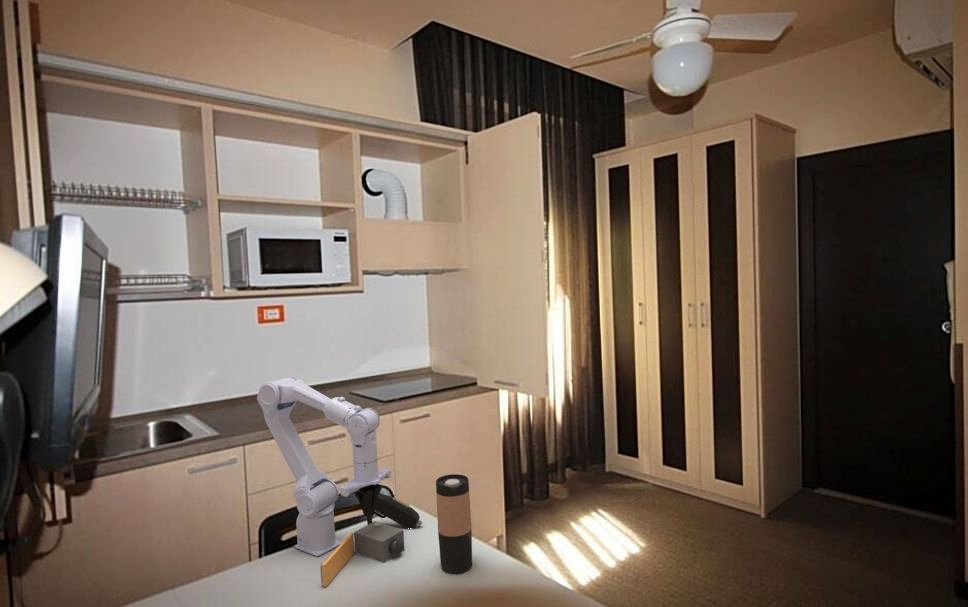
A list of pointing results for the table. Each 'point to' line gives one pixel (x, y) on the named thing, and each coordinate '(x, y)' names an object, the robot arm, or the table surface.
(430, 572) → the table surface
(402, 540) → the camera housing
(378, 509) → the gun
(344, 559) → the side door
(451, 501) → the travel mug
